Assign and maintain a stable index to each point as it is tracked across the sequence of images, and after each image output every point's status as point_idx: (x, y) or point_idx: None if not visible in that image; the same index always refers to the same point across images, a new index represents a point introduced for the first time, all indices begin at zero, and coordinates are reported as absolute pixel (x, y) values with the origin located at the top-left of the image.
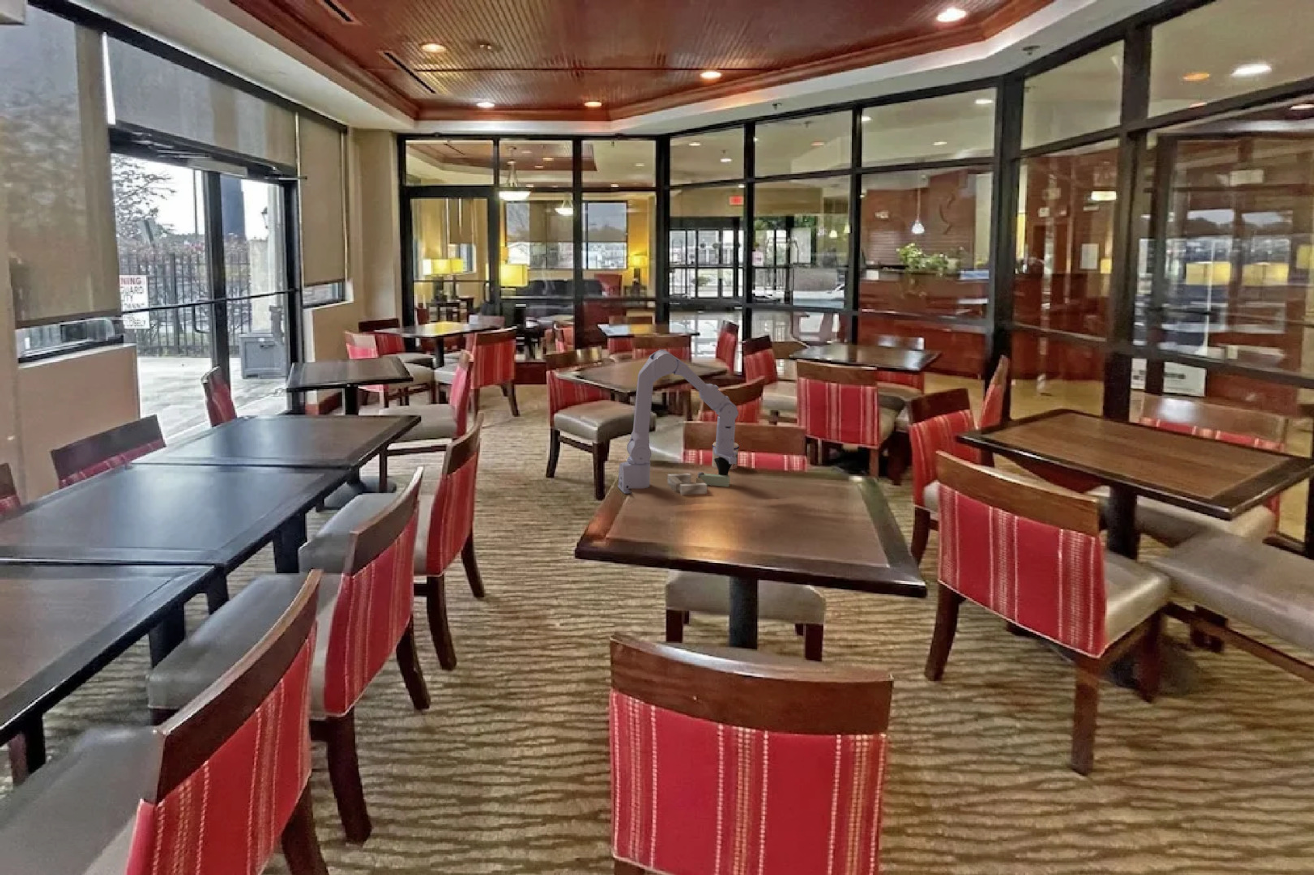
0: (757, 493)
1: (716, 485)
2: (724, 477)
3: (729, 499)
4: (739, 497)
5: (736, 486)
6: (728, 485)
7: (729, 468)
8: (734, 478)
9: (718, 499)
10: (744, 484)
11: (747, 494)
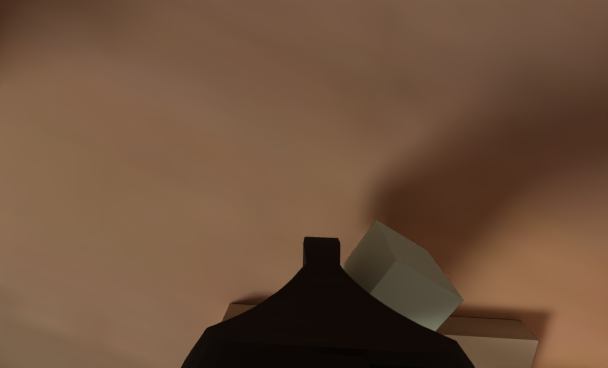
0: (550, 28)
1: None
2: (434, 330)
3: (584, 297)
4: (577, 218)
5: (308, 119)
6: (429, 254)
7: (368, 296)
8: (81, 34)
9: (550, 354)
10: (267, 24)
11: (537, 127)
